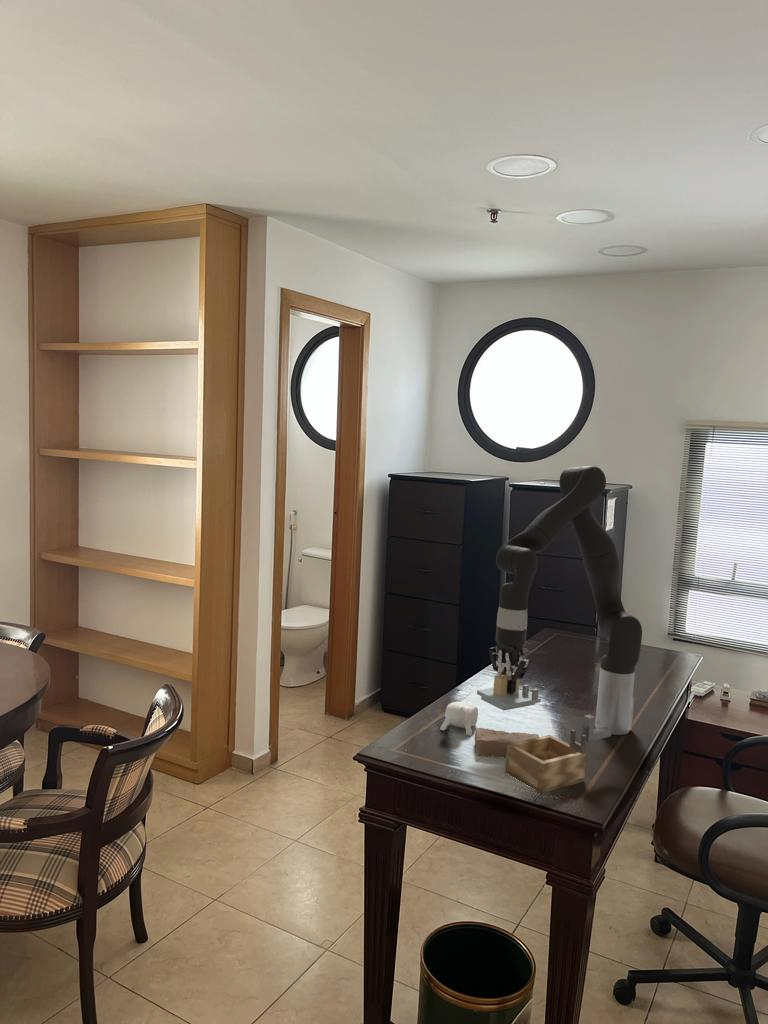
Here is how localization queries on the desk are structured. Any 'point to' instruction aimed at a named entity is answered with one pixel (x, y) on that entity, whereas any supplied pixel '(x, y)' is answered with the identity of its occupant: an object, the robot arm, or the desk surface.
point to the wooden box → (547, 762)
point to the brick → (497, 741)
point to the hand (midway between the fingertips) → (506, 691)
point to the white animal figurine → (460, 716)
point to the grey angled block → (594, 733)
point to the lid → (508, 695)
